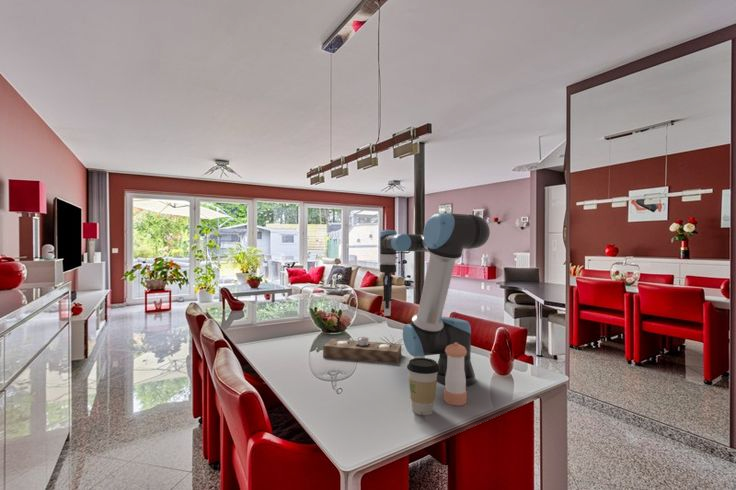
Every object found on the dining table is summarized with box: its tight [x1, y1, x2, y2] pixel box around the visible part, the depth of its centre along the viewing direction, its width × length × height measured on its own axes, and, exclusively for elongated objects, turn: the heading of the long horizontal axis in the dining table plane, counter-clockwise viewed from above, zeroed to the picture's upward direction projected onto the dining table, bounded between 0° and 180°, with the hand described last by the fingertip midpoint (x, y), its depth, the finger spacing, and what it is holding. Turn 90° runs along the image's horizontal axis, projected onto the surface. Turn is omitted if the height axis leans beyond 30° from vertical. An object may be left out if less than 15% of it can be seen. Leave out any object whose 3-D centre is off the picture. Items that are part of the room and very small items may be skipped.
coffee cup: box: [406, 357, 439, 416], centre depth 111 cm, size 10×10×15 cm
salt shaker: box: [443, 342, 468, 406], centre depth 118 cm, size 7×7×19 cm
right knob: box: [379, 344, 390, 349], centre depth 163 cm, size 5×5×5 cm
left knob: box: [337, 341, 348, 346], centre depth 168 cm, size 5×5×5 cm
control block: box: [322, 338, 402, 364], centre depth 166 cm, size 34×13×5 cm, turn 77°
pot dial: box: [357, 336, 369, 347], centre depth 166 cm, size 5×5×5 cm
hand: (387, 315), depth 164 cm, fingers closed
